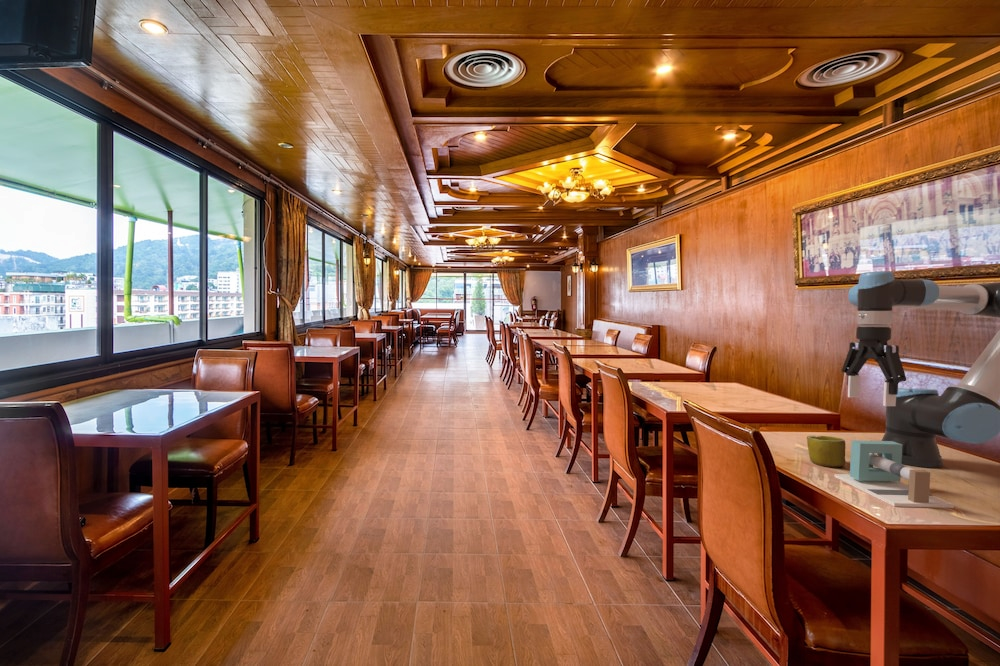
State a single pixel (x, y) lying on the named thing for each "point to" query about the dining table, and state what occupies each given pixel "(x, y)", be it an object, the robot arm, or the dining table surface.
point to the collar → (861, 459)
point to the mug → (826, 450)
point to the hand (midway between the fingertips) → (870, 401)
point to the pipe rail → (898, 485)
